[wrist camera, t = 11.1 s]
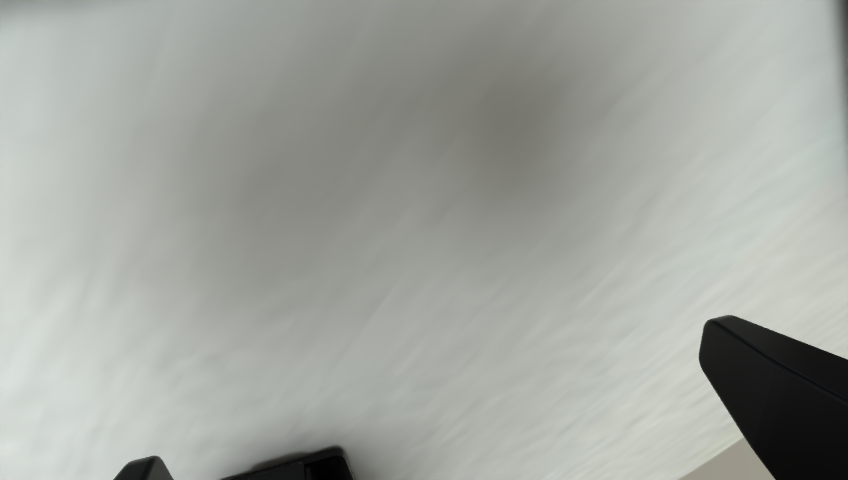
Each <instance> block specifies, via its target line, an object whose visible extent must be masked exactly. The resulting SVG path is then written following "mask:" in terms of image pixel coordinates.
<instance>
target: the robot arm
mask: <svg viewBox="0 0 848 480" xmlns="http://www.w3.org/2000/svg"><path fill="white" fill-rule="evenodd" d="M699 362H700V365H701V368H702V370H703V372H704V373H705V375H706V377H707V378H708V380H709V381H710V383H711V385H712V386H713V388H714V389H715V391H716V393H717V394H718V396H719V397H720V399H721V401H722V402H723V404H724V405H725V407H726V409H727V410H728V412H729V413H730V415H731V417H732V418H733V420H734V421H735V423H736V425H737V426H738V428H739V429H740V431H741V433H742V434H743V436H744V437H745V439H746V440H747V441H748V443H749V445H750V446H751V448H752V449H753V450H754V452H755V453H756V455H757V456H758V457H759V458H760V460H761V461H762V463H763V464H764V465H765V467H766V468H767V469H768V470H769V472H770V473H771V474H772V476H773V477H774V478H775V479H776V480H848V360H847V359H845V358H842V357H839V356H837V355H834V354H832V353H829V352H827V351H824V350H821V349H819V348H816V347H814V346H811V345H808V344H806V343H803V342H801V341H798V340H795V339H793V338H790V337H788V336H785V335H783V334H780V333H777V332H775V331H772V330H770V329H767V328H764V327H762V326H759V325H757V324H754V323H752V322H749V321H746V320H744V319H741V318H739V317H736V316H732V315H726V316H722V317H718V318H713V319H710V320H708V321H707V322H706V323H705V325H704V328H703V334H702V340H701V345H700V351H699ZM113 480H173V478H172V476H171V475H170V473H169V471H168V469H167V467H166V466H165V464H164V462H163V461H162V459H161V458H160V457H158V456H150V457H146V458H142V459H138V460H134V461H131V462H129V463H128V464H126V465H125V466H124V467H123V469H122V470H121V471H120V472H119V473H118V475H117V476H116V477H115V478H114V479H113ZM231 480H355V478H354V476H353V473H352V471H351V468H350V465H349V463H348V460H347V458H346V455H345V453H344V452H343V450H341V449H332V450H328V451H325V452H322V453H318V454H315V455H311V456H308V457H305V458H301V459H298V460H295V461H291V462H288V463H284V464H281V465H278V466H274V467H271V468H268V469H264V470H261V471H258V472H254V473H251V474H247V475H244V476H241V477H237V478H234V479H231Z"/></svg>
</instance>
